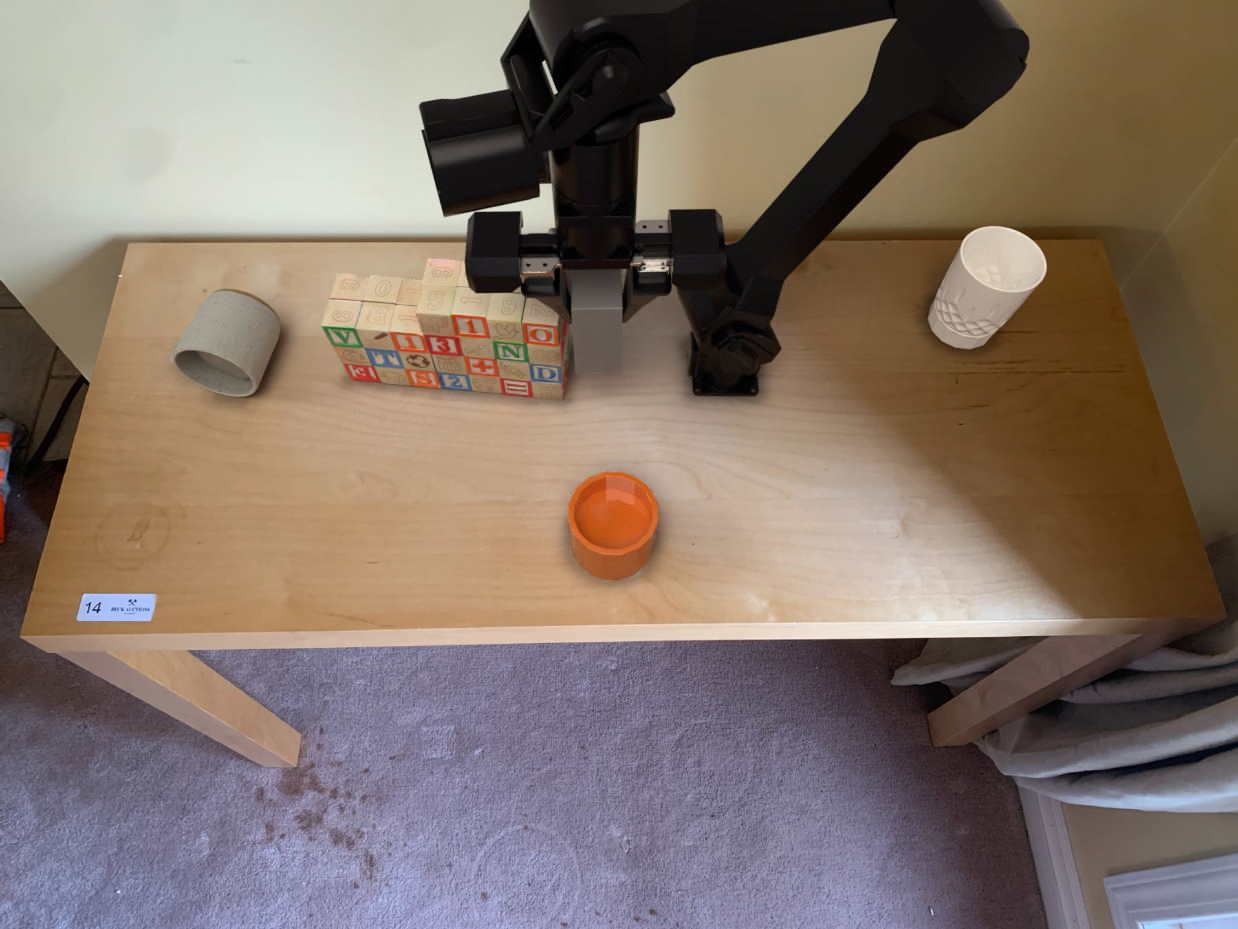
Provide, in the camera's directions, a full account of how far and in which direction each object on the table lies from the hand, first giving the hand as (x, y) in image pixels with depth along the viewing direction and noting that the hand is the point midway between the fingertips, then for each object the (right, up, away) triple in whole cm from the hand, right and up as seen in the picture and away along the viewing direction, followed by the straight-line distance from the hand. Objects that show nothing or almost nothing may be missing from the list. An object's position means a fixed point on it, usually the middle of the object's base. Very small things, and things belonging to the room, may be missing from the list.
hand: (597, 319), depth 65 cm
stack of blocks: (-14, -2, +13) cm, 19 cm away
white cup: (+37, +2, +17) cm, 41 cm away
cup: (+1, -19, +5) cm, 20 cm away
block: (0, -2, +5) cm, 5 cm away
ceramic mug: (-37, -2, +13) cm, 39 cm away
